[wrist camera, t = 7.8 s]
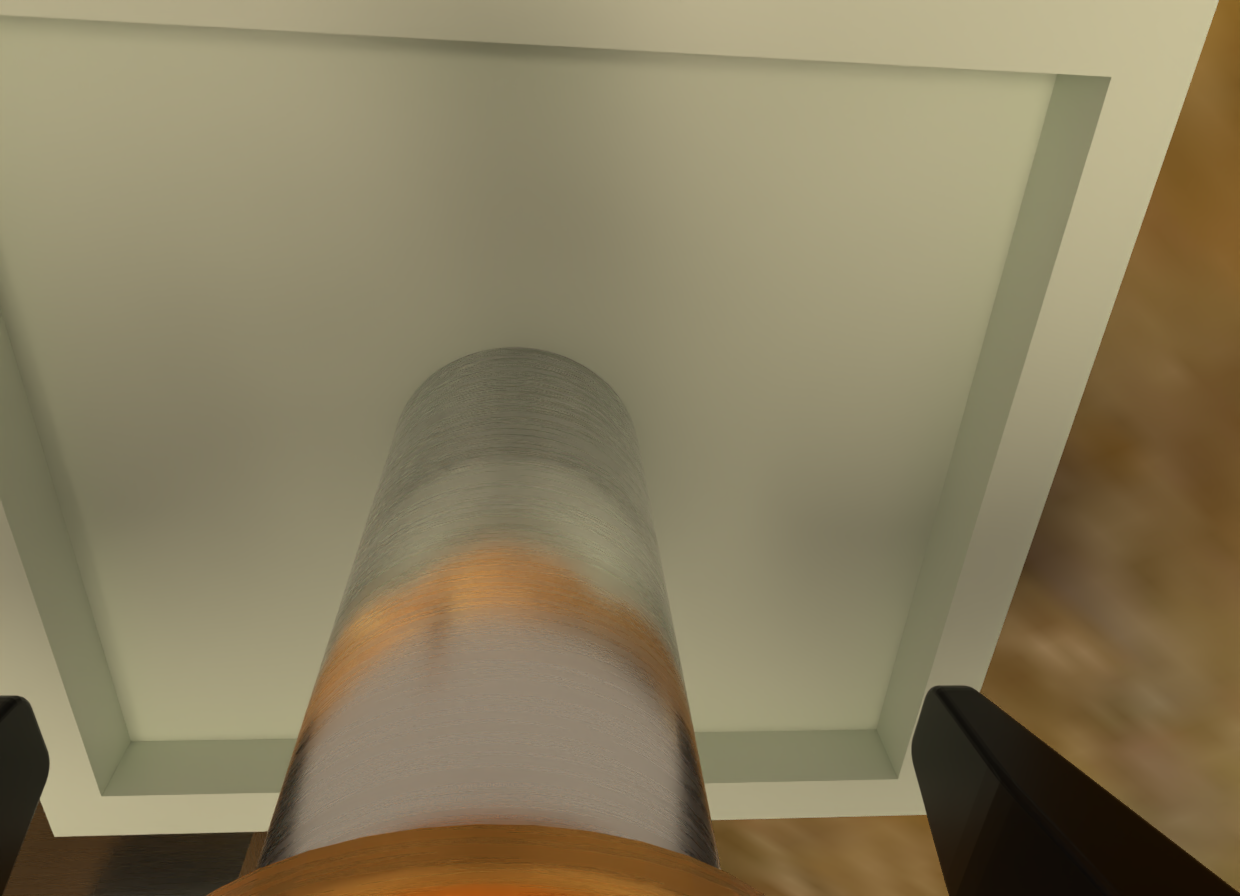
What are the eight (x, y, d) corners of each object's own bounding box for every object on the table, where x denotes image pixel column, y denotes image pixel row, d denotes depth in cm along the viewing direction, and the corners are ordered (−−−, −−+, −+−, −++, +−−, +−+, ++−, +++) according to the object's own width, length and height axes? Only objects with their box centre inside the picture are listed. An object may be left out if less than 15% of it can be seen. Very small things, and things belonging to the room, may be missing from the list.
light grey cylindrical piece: (691, 313, 13) (971, 984, 4) (663, 588, 15) (808, 1356, 7) (337, 302, 12) (-110, 1035, 4) (366, 588, 15) (130, 1414, 6)
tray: (1130, -17, 11) (1222, -14, 10) (903, 741, 18) (937, 814, 17) (-182, -104, 10) (-316, -116, 8) (100, 755, 17) (54, 836, 15)
